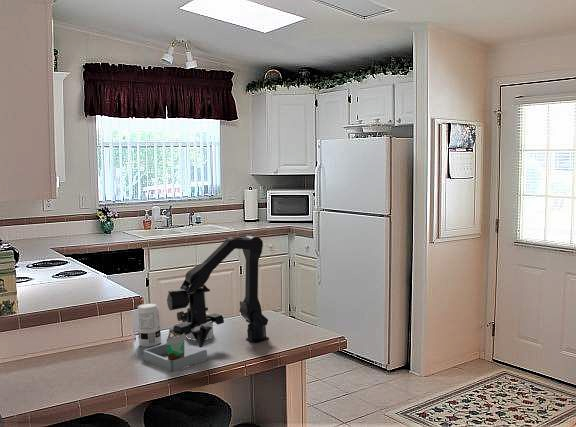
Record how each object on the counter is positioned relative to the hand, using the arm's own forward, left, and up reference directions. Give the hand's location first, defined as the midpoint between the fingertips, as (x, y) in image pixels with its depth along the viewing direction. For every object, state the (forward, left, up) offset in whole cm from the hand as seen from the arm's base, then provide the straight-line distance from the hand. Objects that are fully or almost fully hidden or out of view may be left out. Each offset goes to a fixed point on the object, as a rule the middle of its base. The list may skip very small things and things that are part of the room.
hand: (200, 347), depth 216 cm
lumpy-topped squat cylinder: (-11, -16, -2) cm, 20 cm away
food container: (+11, +2, -2) cm, 11 cm away
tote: (+11, 0, -2) cm, 11 cm away
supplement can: (+7, -23, -2) cm, 24 cm away
